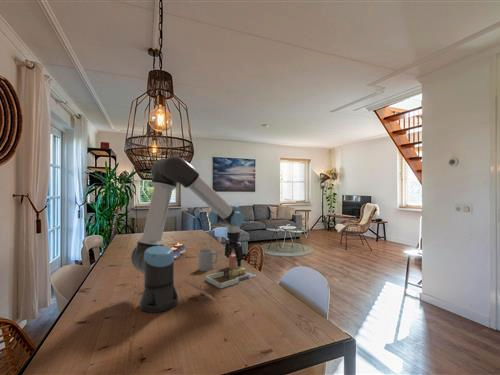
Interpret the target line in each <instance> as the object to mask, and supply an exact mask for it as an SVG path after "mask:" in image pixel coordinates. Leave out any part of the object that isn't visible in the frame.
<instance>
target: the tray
mask: <svg viewBox="0 0 500 375" xmlns="http://www.w3.org/2000/svg"><path fill="white" fill-rule="evenodd" d="M224 273H225V272H224V271H218V272H217V273H212V274H208V275H205V276H204V278H205V279H204V280H205V281H206V283H207V282H208V283H209V284H210V285H213V286H214V287H216V288H218V289H223V288H227V287H230V286H232V285H236V284H238V283H239V282H240V281H239V278H237V279H233V280H231V279H229V280H227V281H224V282H220V281H218V280H215V279H217V278H221V277H225V274H224Z"/></svg>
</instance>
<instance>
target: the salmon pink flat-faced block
mask: <svg viewBox="0 0 500 375" xmlns="http://www.w3.org/2000/svg"><path fill="white" fill-rule="evenodd" d="M238 259H239V258H238ZM236 260H237V258H236V255H235V253H233V254H232V253H231V255H229V267H228V269H229V270H232V269H236Z"/></svg>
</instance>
